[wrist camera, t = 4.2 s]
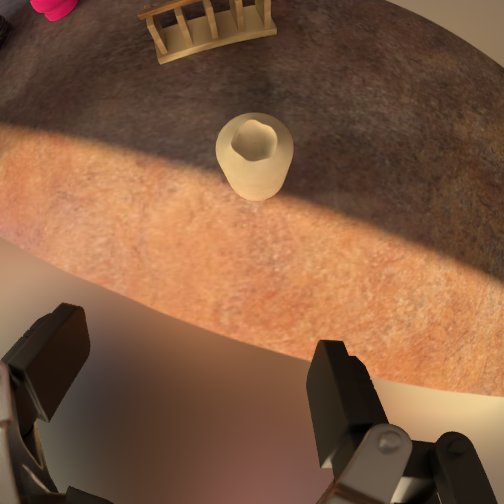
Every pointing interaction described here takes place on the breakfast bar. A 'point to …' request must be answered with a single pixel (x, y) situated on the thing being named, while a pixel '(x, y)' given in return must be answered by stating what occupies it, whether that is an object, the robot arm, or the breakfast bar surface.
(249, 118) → the candle
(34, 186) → the breakfast bar surface
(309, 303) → the breakfast bar surface
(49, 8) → the pepper mill
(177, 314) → the breakfast bar surface
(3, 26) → the storage jar
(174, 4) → the toast rack
